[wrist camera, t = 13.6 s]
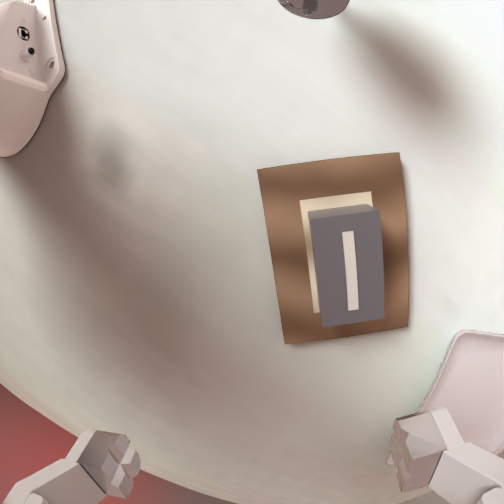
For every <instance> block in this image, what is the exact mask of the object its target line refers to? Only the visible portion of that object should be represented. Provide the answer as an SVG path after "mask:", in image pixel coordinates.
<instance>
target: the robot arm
mask: <svg viewBox="0 0 504 504" xmlns="http://www.w3.org/2000/svg"><path fill="white" fill-rule="evenodd" d="M53 65H54V66H53ZM64 73H65V65H64V61H63V56H62V51H61V46H60V41H59V35H58V30H57V24H56V18H55V11H54V4H53V0H24V1H23V2H20V1H8V2H4V3H2V4H0V156H1V157H8V156H12V155H14V154H16V153H17V152H19V151H20V150H21V149H22V148H23V147H24V146H25V145H26V144H27V143H28V142H29V140H30V139H31V138H32V136H33V135H34V133H35V131H36V129H37V128H38V126H39V124H40V121H41V119H42V117H43V114H44V111H45V108H46V106H47V103H48V100H49V98H50V96H51V94H52V93H53V91H54V90H55V88H56V87H57V86H58V84H59V83H60V81H61V80H62V78H63V76H64ZM393 428H394V431H395V434H394V435H393V436H392V437H391V455H392V460H393V464H394V465H396V466H397V467H399V469H398V473H397V478H398V482H399V486H400V489H401V492H405V491H409V490H413V489H417V488H420V487H424V486H427V485H429V486H428V487H430V488H431V489H432V490H433V491H435V492H436V493H437V494H439V495H440V496H441V497H442V498H444V499H445V500H446V501H447V502H449V503H450V504H504V459H502V458H500V457H498V456H496V455H494V454H492V453H490V452H488V451H486V450H484V449H482V448H480V447H478V446H476V445H474V444H473V443H471V442H467V443H464V441H463V439H462V437H461V435H460V433H459V431H458V429H457V427H456V425H455V423H454V421H453V419H452V418H451V416H450V414H449V412H448V410H447V408H446V407H445V406H440V407H436V408H433V409H430V410H425V411H422V412H418V413H415V414H411V415H408V416H404V417H400V418H396V419H395V421H394V425H393ZM129 444H130V440H129V439H128V437H127V436H126V435H123V434H117V433H111V432H105V431H100V430H94V429H89V428H87V429H85V430H83V432H82V433H81V435H80V437H79V438H78V440H77V441H76V443H75V444H74V446H73V447H72V449H71V451H70V452H69V453H68V455H67V457H66V458H65V459H60V460H59V461H57V462H55V463H53V464H51V465H49V466H47V467H46V468H44V469H42V470H40V471H38V472H36V473H34V474H33V475H31V476H29V477H27V478H25V479H23V480H21V481H19V482H17V483H16V484H15V485H14V487H13V488H12V490H11V491H10V493H9V494H8V496H7V497H6V499H5V500H4V502H3V504H97V503H98V502H99V501H101V500H102V499H103V498H104V497H106V495H111V496H116V497H121V498H126V499H127V498H128V496H129V494H130V491H131V489H132V486H133V482H132V478H133V477H135V476H136V475H137V474H138V472H139V470H140V457H139V454H138V453H137V451H136V450H135V449H134V448H132V447H131V446H130V445H129Z"/></svg>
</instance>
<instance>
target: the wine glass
mask: <svg viewBox="0 0 504 504" xmlns="http://www.w3.org/2000/svg"><path fill="white" fill-rule="evenodd" d="M278 2H279V3H280V4H281V5H282V6H283V7H284V8H285V9H287V10H288V11H290V12H291V13H294V14H296V15H298V16H302V17H306V18H313V19H321V18H328V17H331V16H334V15H336V14H338V13H340V12H341V11H342V10H343V9H344V8H345V7H346V6H347V4H348V2H349V0H278Z"/></svg>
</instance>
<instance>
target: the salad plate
mask: <svg viewBox="0 0 504 504" xmlns="http://www.w3.org/2000/svg"><path fill="white" fill-rule="evenodd" d="M440 406H445V407H446V408H447V410H448V412H449V414H450V416H451V418H452V419H453V421H454V423H455V425H456V427H457V429H458V431H459V433H460V435H461V437H462V439H463V441H464V443H467V442H471V443H473V444H474V445H476V446H478V447H480V448H482V449H484V450H486V451H488V452H490V453H493V452H495V451H496V450H497V449H498V448H499V447H500V446H501V445H502V444H503V442H504V334H497V333H490V332H483V331H476V330H461V331H459V332H458V333H456V334H455V336H454V337H453V339H452V341H451V343H450V345H449V348H448V350H447V353H446V355H445V358H444V360H443V363H442V365H441V367H440V370H439V372H438V374H437V376H436V378H435V381H434V383H433V385H432V387H431V389H430V391H429V392H428V394H427V396H426V398H425V400H424V402H423V404H422V405H421V407H420V409H419V411H418V412H422V411H425V410H430V409H433V408H436V407H440ZM418 412H417V413H418ZM386 464H388V465H394V464H393V460H392V455H391V452H390V454H389V456H388V458H387V461H386Z"/></svg>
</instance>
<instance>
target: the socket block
mask: <svg viewBox="0 0 504 504" xmlns="http://www.w3.org/2000/svg"><path fill="white" fill-rule="evenodd" d="M307 212H308V219H309V226H310V234H311V242H312V250H313V258H314V267H315V276H316V285H317V294H318V304H319V311H320V316H321V322H322V327H329V326H336V325H343V324H350V323H357V322H363V321H370V320H376V319H382V318H385V310H384V267H383V248H382V233H381V221H380V210H378V209H376V208H374V207H372V206H370V205H368V204H361V205H353V206H345V207H337V208H329V209H322V210H314V211H307Z"/></svg>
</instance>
